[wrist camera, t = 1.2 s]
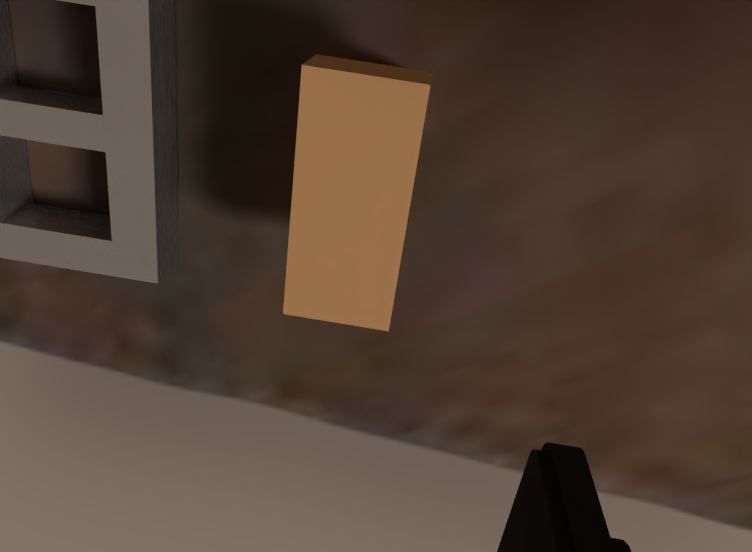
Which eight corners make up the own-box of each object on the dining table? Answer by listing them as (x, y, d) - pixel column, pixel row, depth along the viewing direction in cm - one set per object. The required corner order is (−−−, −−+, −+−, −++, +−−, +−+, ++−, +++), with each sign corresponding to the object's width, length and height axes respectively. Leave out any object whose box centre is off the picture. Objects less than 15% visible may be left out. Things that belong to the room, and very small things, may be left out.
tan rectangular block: (432, 56, 25) (430, 84, 19) (398, 257, 29) (388, 331, 23) (334, 41, 25) (301, 65, 19) (314, 243, 29) (283, 313, 23)
